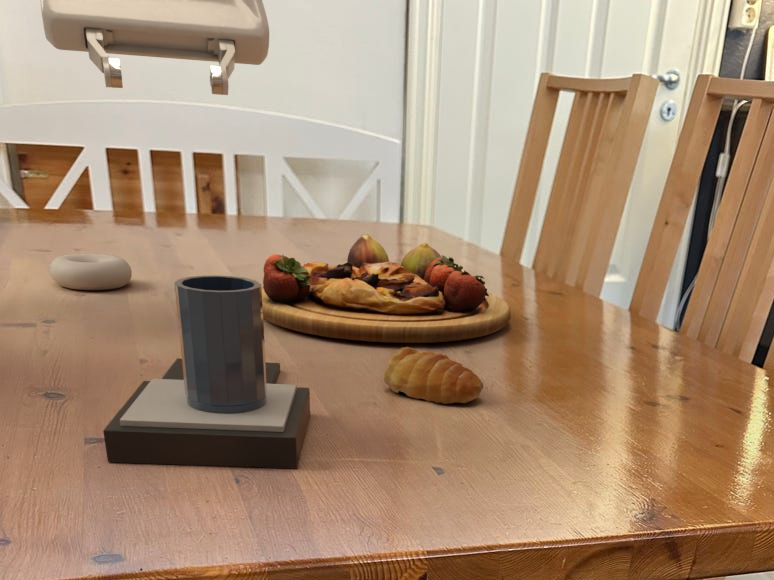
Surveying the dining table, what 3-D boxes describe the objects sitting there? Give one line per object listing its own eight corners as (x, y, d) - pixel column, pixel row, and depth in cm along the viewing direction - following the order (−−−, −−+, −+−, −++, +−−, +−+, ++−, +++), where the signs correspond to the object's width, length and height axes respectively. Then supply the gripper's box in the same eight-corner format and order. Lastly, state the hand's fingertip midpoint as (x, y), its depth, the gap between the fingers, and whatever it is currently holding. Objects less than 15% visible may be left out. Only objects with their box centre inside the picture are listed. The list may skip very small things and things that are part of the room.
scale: (107, 462, 69) (101, 423, 68) (147, 409, 81) (142, 374, 79) (297, 469, 71) (295, 430, 69) (310, 415, 82) (309, 381, 80)
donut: (50, 279, 124) (53, 293, 116) (45, 251, 122) (49, 263, 114) (129, 278, 127) (137, 291, 120) (125, 251, 126) (134, 263, 118)
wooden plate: (253, 347, 100) (248, 266, 96) (252, 287, 127) (249, 222, 123) (537, 351, 107) (545, 275, 103) (481, 294, 134) (484, 232, 129)
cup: (179, 412, 71) (167, 289, 67) (194, 388, 77) (183, 273, 72) (261, 415, 72) (254, 293, 67) (271, 392, 77) (265, 277, 73)
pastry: (495, 396, 90) (498, 357, 88) (459, 413, 85) (461, 372, 83) (414, 378, 94) (415, 339, 92) (376, 393, 89) (376, 352, 87)
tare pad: (160, 390, 85) (157, 363, 84) (177, 367, 92) (175, 341, 91) (271, 395, 86) (269, 368, 85) (280, 371, 93) (279, 346, 92)
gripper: (24, -83, 82) (40, 48, 80) (258, -55, 89) (280, 66, 86) (35, -18, 88) (50, 105, 85) (253, 3, 95) (274, 118, 92)
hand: (168, 86), depth 86 cm, fingers open, 8 cm apart
